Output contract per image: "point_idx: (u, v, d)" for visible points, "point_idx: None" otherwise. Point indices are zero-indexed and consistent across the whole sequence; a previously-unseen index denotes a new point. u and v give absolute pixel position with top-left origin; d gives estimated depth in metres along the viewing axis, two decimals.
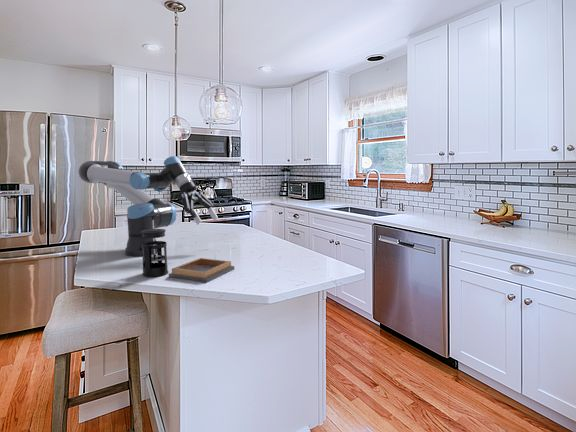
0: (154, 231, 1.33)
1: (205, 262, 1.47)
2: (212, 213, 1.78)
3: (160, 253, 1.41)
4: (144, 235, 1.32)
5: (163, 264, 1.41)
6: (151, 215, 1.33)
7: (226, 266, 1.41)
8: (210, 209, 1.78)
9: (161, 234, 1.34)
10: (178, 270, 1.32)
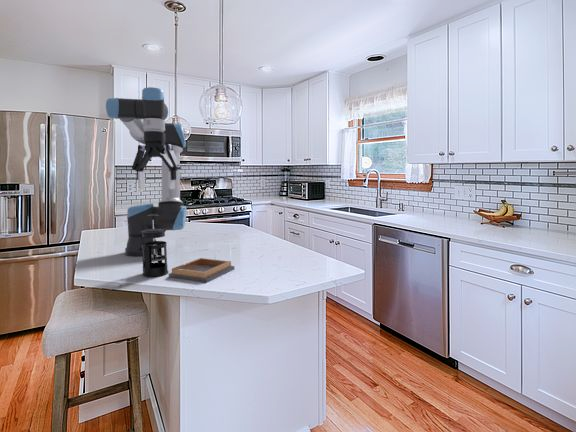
0: (154, 231, 1.33)
1: (205, 262, 1.47)
2: None
3: (160, 253, 1.41)
4: (144, 235, 1.32)
5: (163, 264, 1.41)
6: (151, 215, 1.33)
7: (226, 266, 1.41)
8: None
9: (161, 234, 1.34)
10: (178, 270, 1.32)
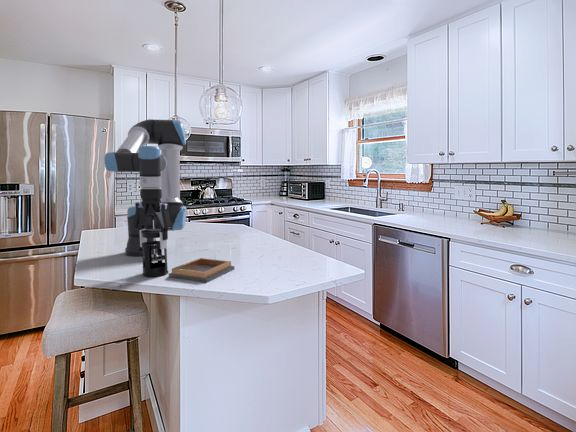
0: (154, 231, 1.33)
1: (205, 262, 1.47)
2: None
3: (160, 253, 1.41)
4: (144, 235, 1.32)
5: (163, 264, 1.41)
6: (151, 215, 1.33)
7: (226, 266, 1.41)
8: None
9: None
10: (178, 270, 1.32)
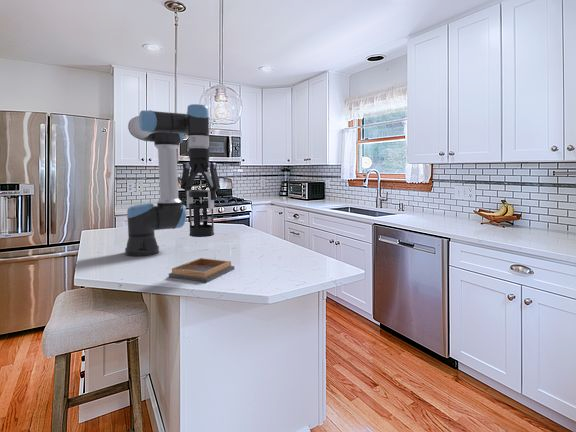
0: (202, 191, 1.32)
1: (205, 262, 1.47)
2: None
3: (205, 215, 1.41)
4: (192, 195, 1.32)
5: (208, 226, 1.41)
6: (199, 175, 1.33)
7: (226, 266, 1.41)
8: None
9: None
10: (178, 270, 1.32)
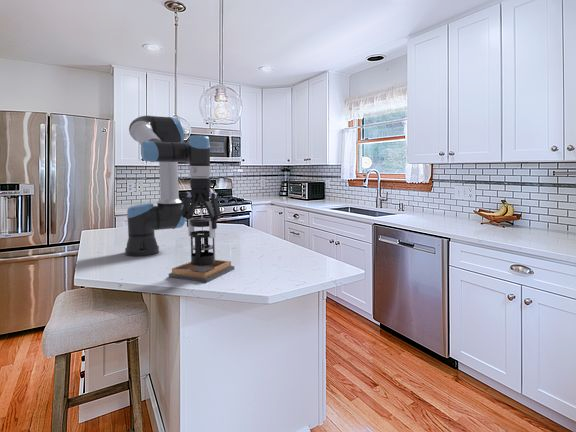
0: (204, 220, 1.34)
1: None
2: None
3: (207, 242, 1.42)
4: (194, 224, 1.33)
5: (209, 253, 1.42)
6: (200, 204, 1.34)
7: (226, 266, 1.41)
8: None
9: None
10: (178, 270, 1.32)
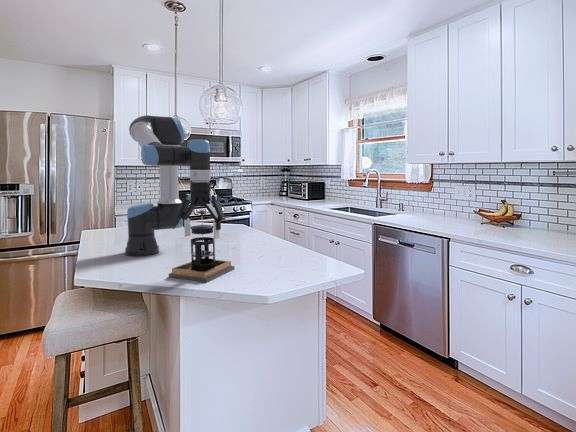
0: (204, 227, 1.34)
1: None
2: None
3: (207, 249, 1.42)
4: (194, 231, 1.34)
5: (210, 260, 1.43)
6: (200, 211, 1.35)
7: (226, 266, 1.41)
8: None
9: (210, 230, 1.35)
10: (178, 270, 1.32)
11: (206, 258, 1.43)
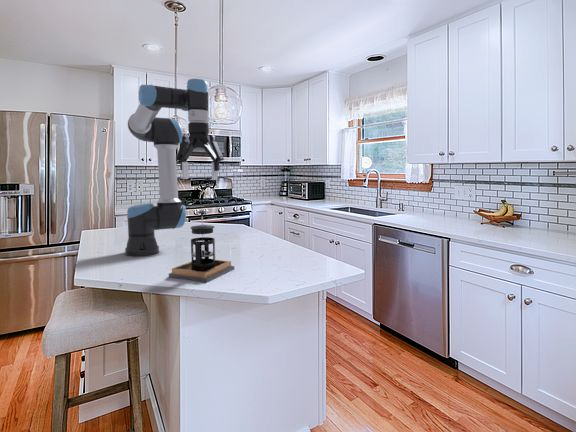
0: (204, 227, 1.34)
1: None
2: None
3: (207, 249, 1.42)
4: (194, 231, 1.34)
5: (210, 260, 1.43)
6: (201, 211, 1.35)
7: (226, 266, 1.41)
8: None
9: (210, 230, 1.35)
10: (178, 270, 1.32)
11: (206, 258, 1.43)
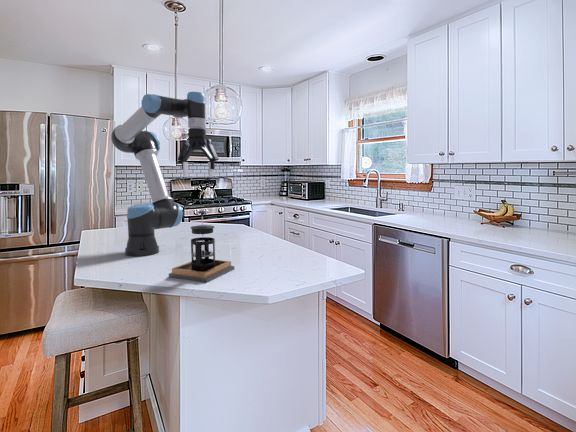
0: (204, 227, 1.34)
1: None
2: None
3: (207, 249, 1.42)
4: (194, 231, 1.34)
5: (210, 260, 1.43)
6: (201, 211, 1.35)
7: (226, 266, 1.41)
8: None
9: (210, 230, 1.35)
10: (178, 270, 1.32)
11: (206, 258, 1.43)
